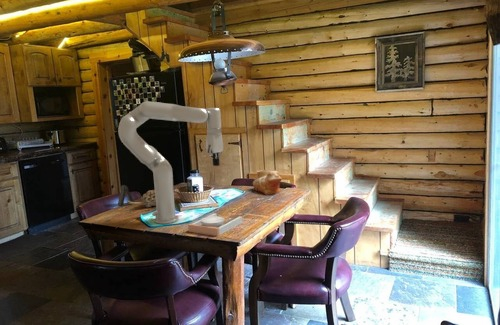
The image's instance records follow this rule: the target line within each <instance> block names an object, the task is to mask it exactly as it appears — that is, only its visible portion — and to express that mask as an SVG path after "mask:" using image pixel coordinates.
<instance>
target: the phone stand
mask: <svg viewBox="0 0 500 325" xmlns="http://www.w3.org/2000/svg"><path fill="white" fill-rule="evenodd" d="M120 189H121V190H120V193H119V198H118V201H117V205H118V206H119V207H121V208H122V207H126V206H132V205H134V204H129V203H128V202H125V197H127V201H131V202H135V201H134V199H133V197H132V195H131V193H130V190H129V187H128V186H127V185H125V184H122V185H121V186H120Z"/></svg>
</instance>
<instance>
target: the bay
mask: <svg viewBox="0 0 500 325" xmlns="http://www.w3.org/2000/svg"><path fill="white" fill-rule="evenodd" d="M209 216H218V215H217V213H215V212H214V213H212V214H210V215H207V216H206V217H209ZM241 224H243V216H240V215H239V216H238V217H235V218H234V219H232V220H230V221H228V222H226V223H225V224H224V223H223V225H222V226H220V227H219V228H217V227H210V226H203V225H202V224H201V219H199V220H196V221H195V222H193V223H188V224H187V228H188V229H187V230H188V232H189V233H195V234H202V235H209V236H214V237H220V236H221V235H222V234H224V233H226V232H228V231H229V230H230V231H231V229H234V228H235V227H237V226H239V225H241Z"/></svg>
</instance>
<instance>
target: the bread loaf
mask: <svg viewBox="0 0 500 325" xmlns="http://www.w3.org/2000/svg"><path fill="white" fill-rule="evenodd" d="M256 175H257V177H256V178H255V179H254V180H253V181H252V187H253V188H254V190H255V192H258V193H262V194H264V195H266V196H267V195H268V196H269V195H274V194H279V193H281V190H280V183H281V181H282V180H283V178H282V176H280V172H279V171H278V170H273V171H272V170H267V169H262V170H257V171H256Z"/></svg>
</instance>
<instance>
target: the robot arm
mask: <svg viewBox="0 0 500 325" xmlns="http://www.w3.org/2000/svg"><path fill="white" fill-rule="evenodd" d="M221 114H222V113H221V109H220V108H219V107H209V108H201V107H194V106H193V107H191V106H184V105H183V106H182V105H179V104H175V103H166V102H165V103H164V102H157V101H149V100H148V101H143V102H142V103H140V104H139V105H138V106H137V107H136V108H134V109H132V110H131V111H130V112H128V113H127V114H125V115H124V116H122V118H121V119H120V122H119V123H118V131H117V132H118V137H119V139H120V141H121V143H123V145H124V146H125V147H126V149H128V150H129V151H130V153H131V154H133V155H134V156H135V158H136V159H137V160H139V162H140V163H142V164H143V165H145V166H146V167H147V168H148V169H149V170H151V171H152V173H153V184H154V190H155V199H156V205H155V207H156V208H155V210H154V211H153V212H152V213H151V215H152V216H154V220H153V222H154V223H155V224H161V225H163V224H164V225H166V224H172V223H175V222H177V221H178V220H179V216H178V215H176V206H175V195H174V194H175V193H174V192H175V191H174V178H173V177H174V175H173V168H172V165H171V164H170V162H169V160H167V159H166V158H165V157H164V156H163V155H162V154H161V153H160V152H158V150H157V148H155V147H154V146H152V145H149V144H148V143H147V142H146V141H145V140H144V139H143V138H142V137H141V136H140V135H139V134H138V132H137V128H139V127H140V126H141V125H143V124H144V123H145V122H147V121H148V120H150V119H152V120H161V121H162V120H163V121H172V122H187V123H195V124H203V123H205V122H206V131H207V132H206V138H205V146H206V147H205V151H206V154H208V156H210V157H211V159H212V166H213V167H218V166H220V157H221V154H222V153H223V151H224V141H223V135H222V119H221V118H222V116H221Z"/></svg>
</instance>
